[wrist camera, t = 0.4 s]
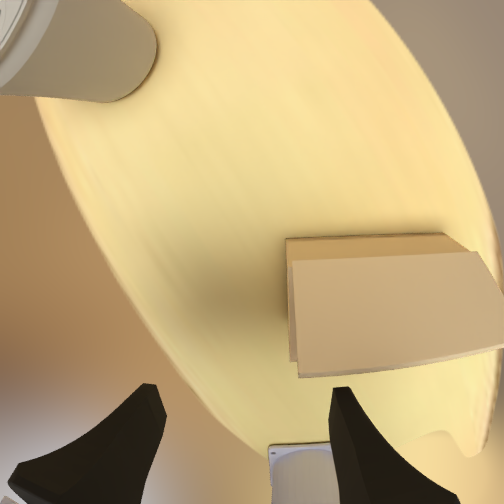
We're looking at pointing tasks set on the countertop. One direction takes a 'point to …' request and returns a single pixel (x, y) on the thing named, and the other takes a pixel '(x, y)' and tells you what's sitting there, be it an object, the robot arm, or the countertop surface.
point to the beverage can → (73, 49)
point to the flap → (393, 312)
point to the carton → (358, 256)
